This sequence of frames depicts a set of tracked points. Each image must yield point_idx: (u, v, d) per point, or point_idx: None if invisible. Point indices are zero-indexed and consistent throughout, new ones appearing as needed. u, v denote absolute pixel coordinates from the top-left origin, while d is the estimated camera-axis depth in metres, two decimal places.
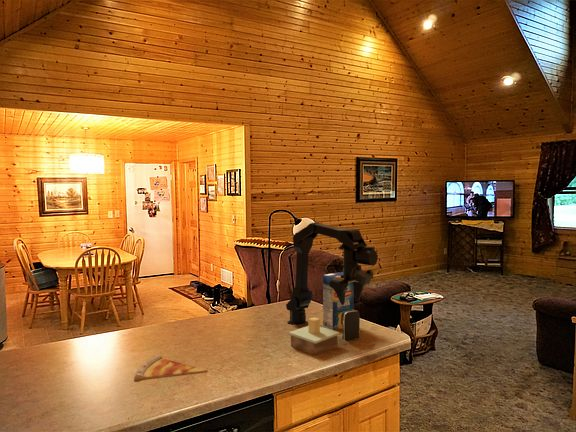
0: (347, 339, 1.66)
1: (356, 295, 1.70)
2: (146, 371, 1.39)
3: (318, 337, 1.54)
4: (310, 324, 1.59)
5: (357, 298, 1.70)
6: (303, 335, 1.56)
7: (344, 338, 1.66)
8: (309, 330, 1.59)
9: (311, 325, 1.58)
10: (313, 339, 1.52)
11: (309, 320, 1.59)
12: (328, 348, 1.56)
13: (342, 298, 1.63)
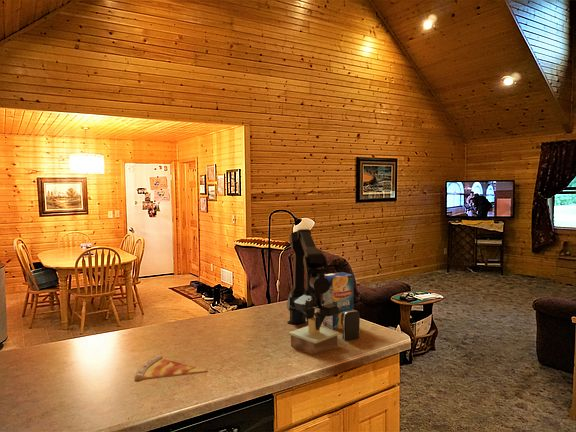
0: (347, 339, 1.66)
1: None
2: (146, 371, 1.39)
3: (318, 337, 1.54)
4: (310, 324, 1.59)
5: None
6: (303, 335, 1.56)
7: (344, 338, 1.66)
8: (309, 330, 1.59)
9: (311, 325, 1.58)
10: (313, 339, 1.52)
11: (309, 320, 1.59)
12: (328, 348, 1.56)
13: None
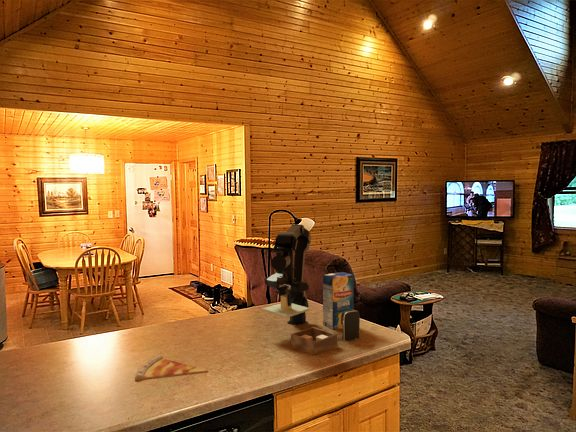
0: (347, 339, 1.66)
1: None
2: (147, 371, 1.39)
3: (289, 312, 1.64)
4: (282, 300, 1.69)
5: None
6: (275, 311, 1.66)
7: (344, 338, 1.66)
8: (281, 306, 1.69)
9: (283, 301, 1.68)
10: (284, 314, 1.62)
11: (281, 297, 1.69)
12: (328, 348, 1.56)
13: None
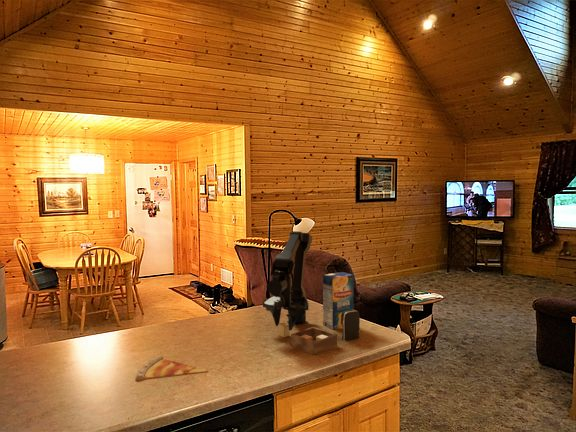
0: (347, 339, 1.66)
1: None
2: (147, 371, 1.39)
3: None
4: (280, 328, 1.70)
5: None
6: None
7: (344, 338, 1.66)
8: (279, 334, 1.71)
9: (280, 330, 1.70)
10: None
11: (279, 325, 1.71)
12: (328, 348, 1.56)
13: None
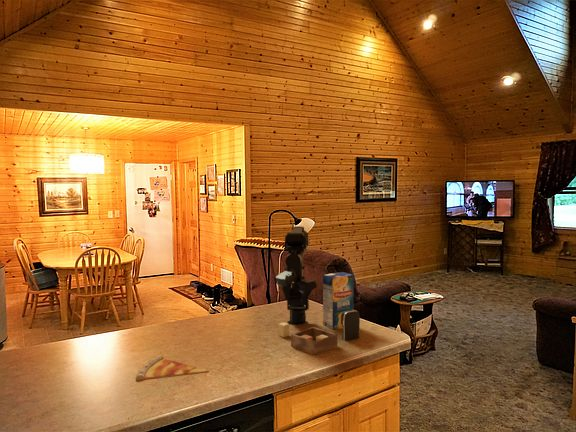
0: (347, 339, 1.66)
1: None
2: (148, 371, 1.39)
3: None
4: (280, 328, 1.70)
5: None
6: None
7: (344, 338, 1.66)
8: (279, 334, 1.71)
9: (280, 330, 1.70)
10: None
11: (279, 325, 1.71)
12: (328, 348, 1.56)
13: None
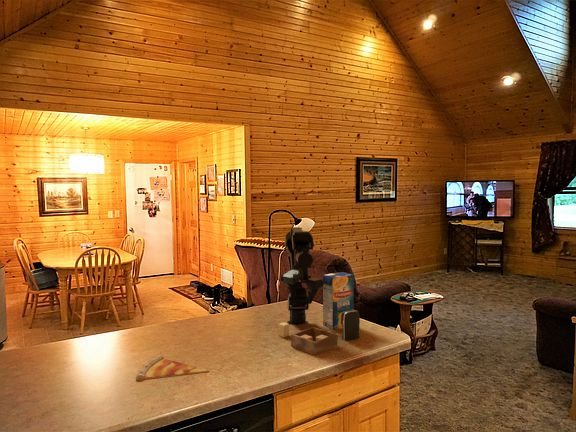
0: (347, 339, 1.66)
1: None
2: (148, 371, 1.39)
3: None
4: (280, 328, 1.70)
5: None
6: None
7: (344, 338, 1.66)
8: (279, 334, 1.71)
9: (280, 330, 1.70)
10: None
11: (279, 325, 1.71)
12: (328, 348, 1.56)
13: None
